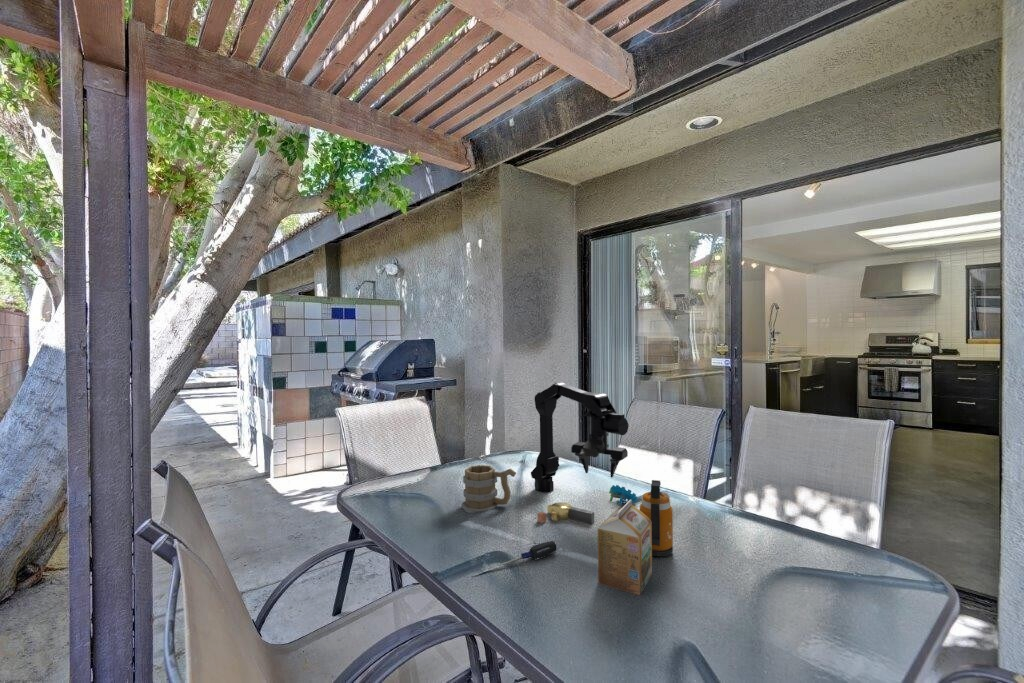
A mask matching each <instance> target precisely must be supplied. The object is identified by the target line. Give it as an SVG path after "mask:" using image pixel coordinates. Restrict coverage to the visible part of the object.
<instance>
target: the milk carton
mask: <svg viewBox="0 0 1024 683" xmlns="http://www.w3.org/2000/svg"><path fill="white" fill-rule="evenodd" d="M597 565H598V566H597V570H598V571H597V572H598V574H597V575H598V576H597V577H598V580H597V582H598V583H597V584H599V583H600V585H603V586H607V587H610V588H613V589H617V590H620V591H624V592H627V593H629V594H630V593H631V594H634V595H638V596H641V595H642V592H643V591H644V589H645V588H646V587H647V584H648V583H649V581H650V579H651V578H652V576H653V555H652V522H651V520H650V519H649V518H648V517H647V516H646V515H645V514H644V513H642V512H641V511H640V508H638V507H636V506H634V505H633V501H632V500H629V501H628V500H627V502H626V504H624V505H623V506H622V507H621V508H618V509H616V510H615V511H614V512H612V514H610V515H609V516H608V517H607V519H606V520H604V521H603V523H601V524H600V526H598V528H597Z"/></svg>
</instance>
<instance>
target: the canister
mask: <svg viewBox="0 0 1024 683" xmlns="http://www.w3.org/2000/svg"><path fill="white" fill-rule="evenodd" d="M670 498H671V496H670V495H669V494H668V493H666V492H663V491H661V480H656V479H652V480H651V484H650V491H648V492H644V493H643V494H642V496H641V503H640V505H639V510H640V511H641V512H642V513H644V514H645V515H646V516H647V517H648V518H649V519H650V520H651V522H652V557H653V556H654V557H665V556H670V555H671V554H672V553H673V552H674V548H673V547H674V540H673V539H674V538H673V537H674V535H673V534H674V533H673V530H674V528H673V527H674V525H673V524H674V523H673V522H674V521H673V516H674V515H673V507H672V506H671V499H670Z"/></svg>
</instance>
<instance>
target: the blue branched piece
mask: <svg viewBox="0 0 1024 683" xmlns="http://www.w3.org/2000/svg"><path fill="white" fill-rule="evenodd" d="M608 494H610V499H609V503H612V502H613V499H614V498H615V499H619V500H618V504H620V505H622V503H623V501H627V502H628V501H629V500H632V502H634V503H636V501H638V499H639V498H638V496H637V494H636V493H635V492H633V493H632V490H631V489H626V487H625V486H621V487H620V485H619V484H616V485H614V484H613V485H612V486H610V489H609V491H608Z"/></svg>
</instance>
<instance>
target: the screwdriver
mask: <svg viewBox="0 0 1024 683" xmlns="http://www.w3.org/2000/svg"><path fill="white" fill-rule="evenodd" d="M556 551H557V544H556V542H555V541H553V540H551V541H550V540H549V541H545V542H541V543H537V544H535V545H533V546H531V547H530V548H529V551H528V552H523V553H521V554H520V556H518V557H516V558H513V559H510V560H509V561H506V562H502V563H500V564H497V565H495V566H493V567H496V566H501V565H504V566H506V564H507V565H509V563H510V564H512V563H515V562H517V561H520V560H526V559H529V558H531V559H532V558H533V559H532V560H535V559H537V558H540V559H542V558H541V557H543V558H544V556H545V557H547V556H549V555H552V554H553V553H555V552H556ZM537 560H538V559H537Z"/></svg>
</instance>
